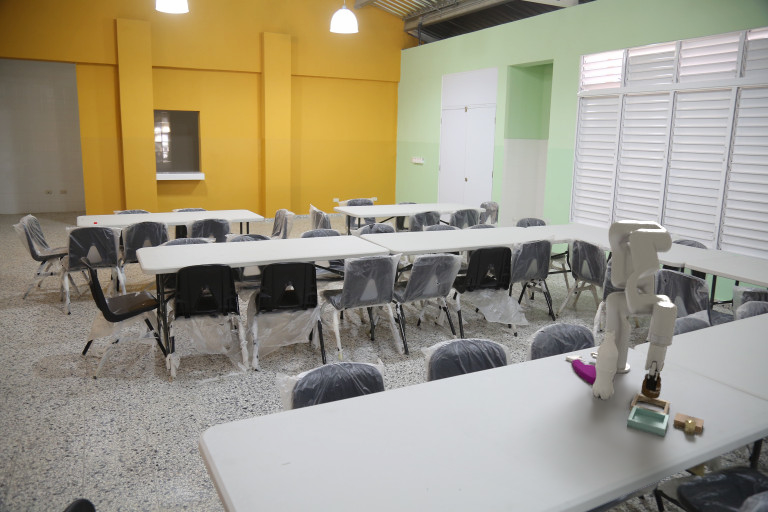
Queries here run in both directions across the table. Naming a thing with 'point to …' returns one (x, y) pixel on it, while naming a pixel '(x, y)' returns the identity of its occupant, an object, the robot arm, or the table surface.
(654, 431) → the tray
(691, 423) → the cylinder
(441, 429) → the table surface
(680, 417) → the board
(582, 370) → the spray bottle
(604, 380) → the water bottle
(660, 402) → the wooden square frame
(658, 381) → the utensil holder
